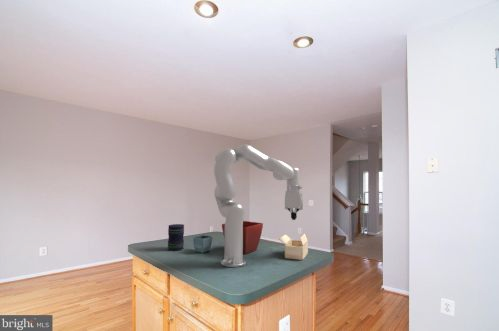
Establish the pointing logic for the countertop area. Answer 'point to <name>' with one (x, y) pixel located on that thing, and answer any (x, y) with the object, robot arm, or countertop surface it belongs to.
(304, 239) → the flap right
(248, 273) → the countertop surface
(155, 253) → the countertop surface
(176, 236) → the storage jar
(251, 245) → the plant pot
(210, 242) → the flower pot
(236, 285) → the countertop surface
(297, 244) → the carton
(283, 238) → the flap left
